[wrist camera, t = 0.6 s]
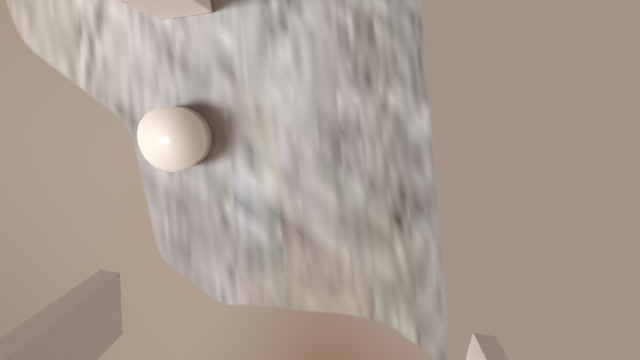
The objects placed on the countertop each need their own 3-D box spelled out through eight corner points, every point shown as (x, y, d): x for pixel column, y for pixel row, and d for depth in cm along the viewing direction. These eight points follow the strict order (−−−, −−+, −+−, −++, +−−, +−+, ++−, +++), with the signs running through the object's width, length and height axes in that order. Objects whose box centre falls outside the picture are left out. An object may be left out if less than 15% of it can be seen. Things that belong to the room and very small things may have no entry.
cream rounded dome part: (156, 102, 39) (137, 102, 35) (214, 111, 38) (201, 112, 35) (154, 160, 40) (136, 166, 37) (210, 170, 40) (197, 176, 36)
